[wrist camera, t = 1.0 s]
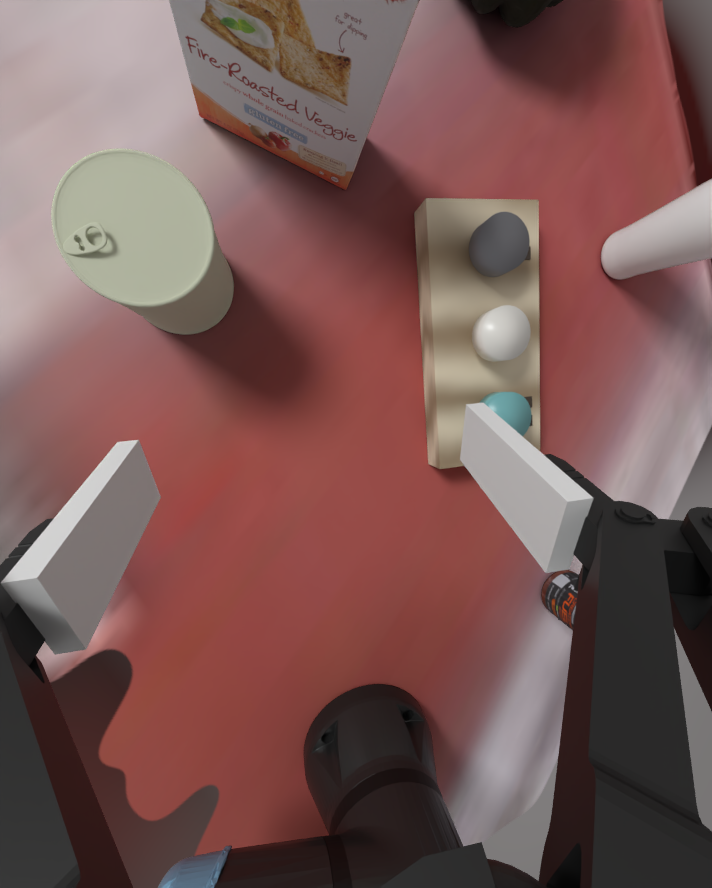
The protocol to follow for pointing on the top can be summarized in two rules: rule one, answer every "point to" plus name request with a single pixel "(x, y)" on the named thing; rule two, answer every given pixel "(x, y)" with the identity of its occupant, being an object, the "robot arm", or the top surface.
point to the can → (143, 239)
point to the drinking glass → (663, 237)
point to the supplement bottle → (561, 596)
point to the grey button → (499, 244)
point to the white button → (501, 333)
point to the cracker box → (294, 72)
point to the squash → (514, 9)
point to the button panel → (470, 319)
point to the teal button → (510, 409)
